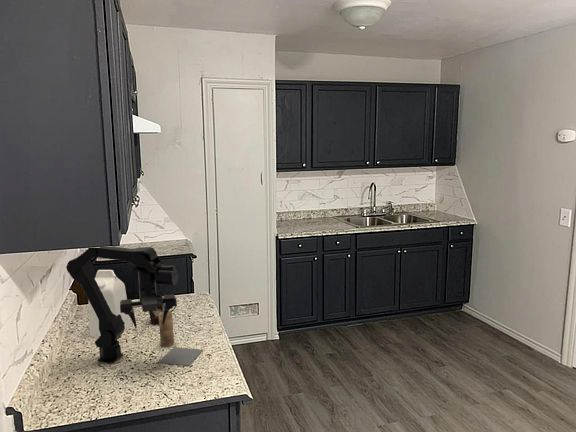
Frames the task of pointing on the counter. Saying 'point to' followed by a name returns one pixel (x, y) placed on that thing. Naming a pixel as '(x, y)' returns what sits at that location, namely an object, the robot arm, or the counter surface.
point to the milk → (108, 299)
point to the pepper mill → (166, 330)
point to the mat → (180, 356)
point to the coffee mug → (155, 316)
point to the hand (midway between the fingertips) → (149, 326)
